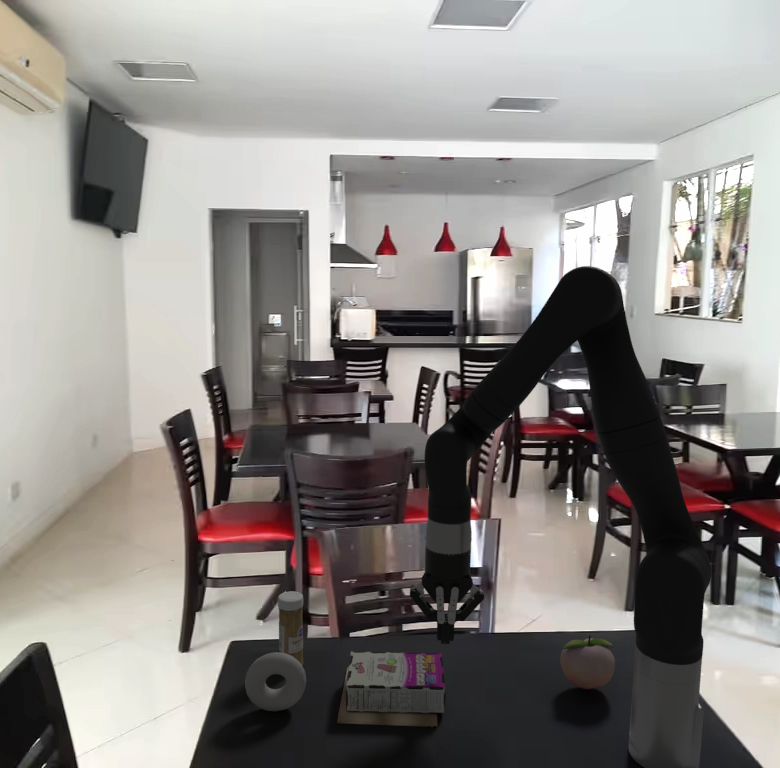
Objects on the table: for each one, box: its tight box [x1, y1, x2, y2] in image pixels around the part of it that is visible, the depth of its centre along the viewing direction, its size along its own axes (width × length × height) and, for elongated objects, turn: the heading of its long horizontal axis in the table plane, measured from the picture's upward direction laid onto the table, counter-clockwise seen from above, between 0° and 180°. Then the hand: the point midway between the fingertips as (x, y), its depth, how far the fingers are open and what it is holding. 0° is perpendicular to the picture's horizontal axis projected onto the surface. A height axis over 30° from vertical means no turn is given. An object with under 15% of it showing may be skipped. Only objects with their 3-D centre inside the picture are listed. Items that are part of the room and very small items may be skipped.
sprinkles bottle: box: [277, 591, 304, 666], centre depth 132 cm, size 5×5×13 cm
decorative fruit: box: [560, 634, 616, 690], centre depth 125 cm, size 9×8×10 cm
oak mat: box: [336, 666, 438, 728], centre depth 123 cm, size 16×16×1 cm
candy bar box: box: [346, 650, 447, 714], centre depth 122 cm, size 11×5×16 cm
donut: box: [244, 651, 307, 712], centre depth 118 cm, size 10×4×10 cm, turn 97°
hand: (445, 641), depth 121 cm, fingers closed
